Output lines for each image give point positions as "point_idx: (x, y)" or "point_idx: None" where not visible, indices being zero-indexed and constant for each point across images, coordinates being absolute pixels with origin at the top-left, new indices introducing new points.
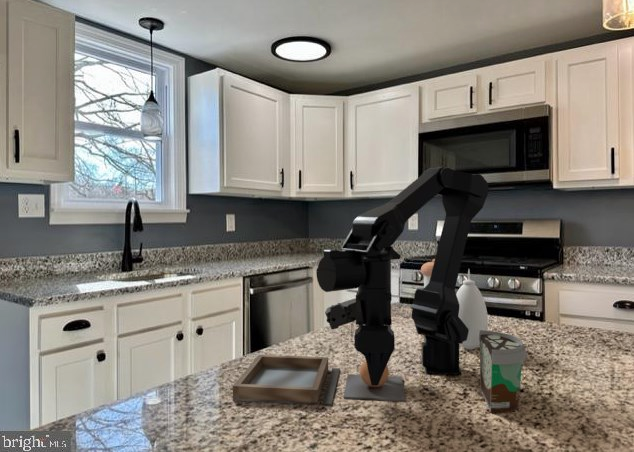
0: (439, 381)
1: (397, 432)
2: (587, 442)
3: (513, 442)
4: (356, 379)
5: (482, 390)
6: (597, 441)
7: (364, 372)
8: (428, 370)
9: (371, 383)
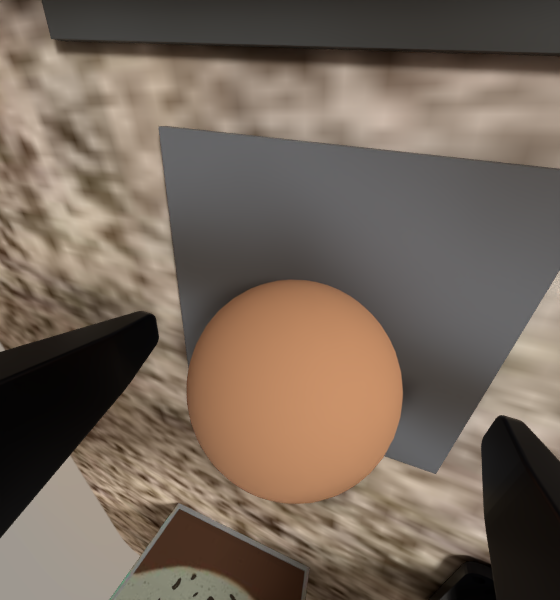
0: (376, 538)
1: (12, 296)
2: (120, 527)
3: (81, 462)
4: (446, 242)
5: (287, 562)
6: (127, 535)
7: (214, 318)
8: (485, 578)
9: (131, 314)
